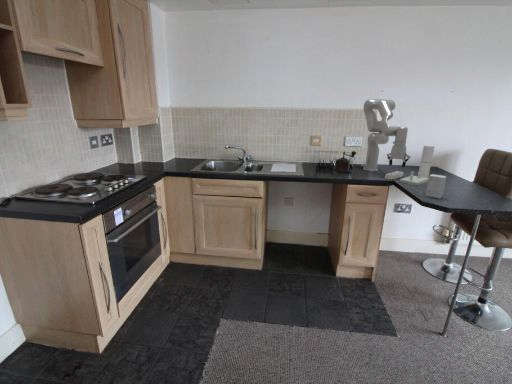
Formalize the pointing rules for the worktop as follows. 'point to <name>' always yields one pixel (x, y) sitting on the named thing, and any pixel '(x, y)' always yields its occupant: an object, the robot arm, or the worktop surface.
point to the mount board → (414, 179)
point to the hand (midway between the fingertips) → (396, 166)
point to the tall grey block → (426, 160)
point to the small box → (436, 186)
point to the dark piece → (343, 163)
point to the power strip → (394, 175)
